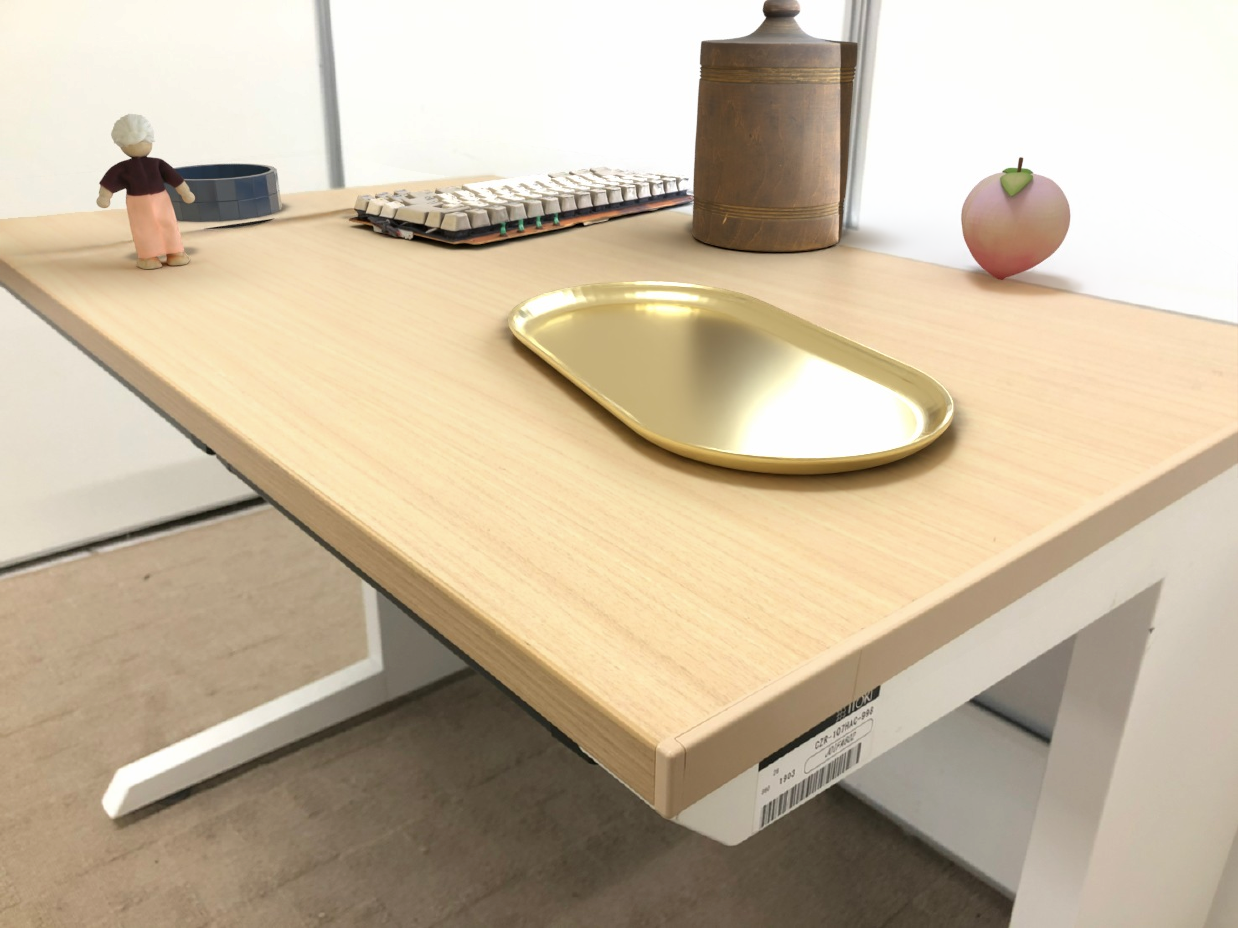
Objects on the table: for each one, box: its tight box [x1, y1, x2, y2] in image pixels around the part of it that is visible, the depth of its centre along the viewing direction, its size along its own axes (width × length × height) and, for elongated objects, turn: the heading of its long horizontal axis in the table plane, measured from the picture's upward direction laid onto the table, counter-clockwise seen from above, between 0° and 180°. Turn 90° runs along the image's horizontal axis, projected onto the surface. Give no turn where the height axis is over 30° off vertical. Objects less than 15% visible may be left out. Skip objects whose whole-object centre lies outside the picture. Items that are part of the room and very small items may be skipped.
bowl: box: [164, 162, 283, 230], centre depth 107 cm, size 12×12×5 cm
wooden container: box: [691, 0, 859, 253], centre depth 95 cm, size 15×15×22 cm
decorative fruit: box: [960, 156, 1071, 281], centre depth 82 cm, size 9×8×10 cm
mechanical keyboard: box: [348, 166, 694, 246], centre depth 110 cm, size 38×19×3 cm, turn 139°
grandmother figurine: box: [95, 113, 195, 270], centre depth 85 cm, size 8×4×13 cm, turn 134°
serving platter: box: [507, 280, 955, 475], centre depth 62 cm, size 19×35×2 cm, turn 25°
